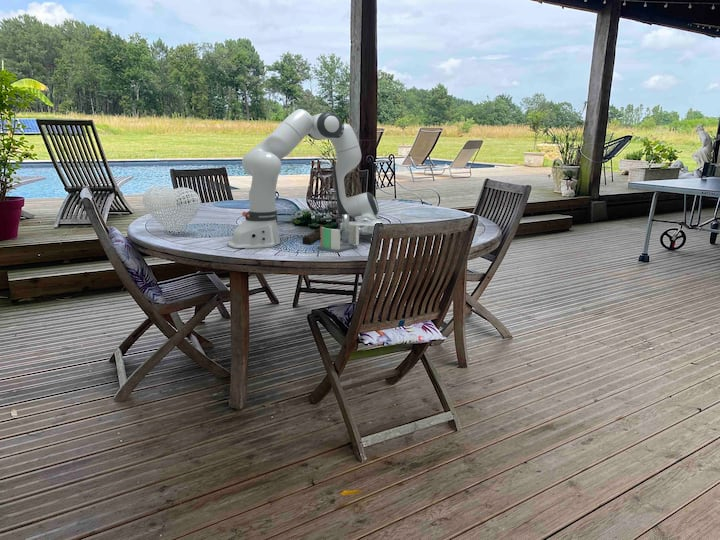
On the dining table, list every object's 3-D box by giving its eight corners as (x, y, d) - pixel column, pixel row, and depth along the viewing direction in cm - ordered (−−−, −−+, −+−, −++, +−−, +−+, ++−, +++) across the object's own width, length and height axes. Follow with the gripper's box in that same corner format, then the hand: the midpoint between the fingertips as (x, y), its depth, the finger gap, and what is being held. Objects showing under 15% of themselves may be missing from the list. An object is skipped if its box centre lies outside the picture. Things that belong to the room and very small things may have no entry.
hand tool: (310, 245, 218) (310, 235, 216) (302, 245, 219) (301, 234, 218) (327, 237, 235) (327, 227, 234) (319, 237, 236) (319, 227, 235)
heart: (209, 234, 238) (206, 186, 232) (185, 240, 224) (181, 189, 218) (164, 229, 249) (160, 183, 243) (139, 234, 235) (134, 186, 229)
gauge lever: (346, 240, 217) (346, 214, 214) (360, 244, 211) (360, 216, 208) (318, 245, 208) (318, 217, 205) (332, 249, 201) (332, 220, 198)
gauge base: (340, 243, 222) (340, 222, 219) (360, 246, 215) (360, 225, 213) (317, 248, 210) (316, 227, 208) (336, 252, 204) (336, 230, 201)
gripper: (343, 217, 230) (336, 222, 217) (388, 218, 226) (383, 224, 213) (343, 230, 232) (336, 236, 219) (387, 232, 228) (383, 238, 215)
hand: (359, 230), depth 216 cm, fingers closed
